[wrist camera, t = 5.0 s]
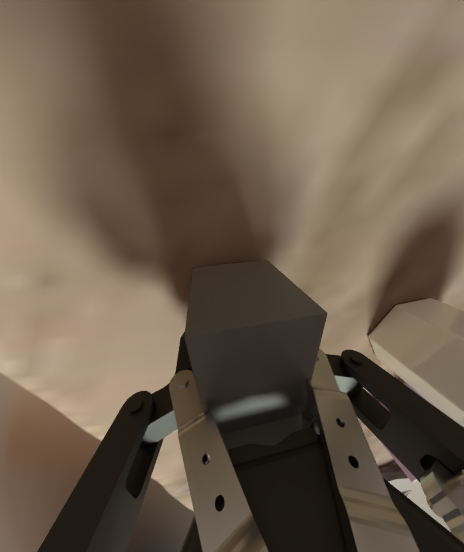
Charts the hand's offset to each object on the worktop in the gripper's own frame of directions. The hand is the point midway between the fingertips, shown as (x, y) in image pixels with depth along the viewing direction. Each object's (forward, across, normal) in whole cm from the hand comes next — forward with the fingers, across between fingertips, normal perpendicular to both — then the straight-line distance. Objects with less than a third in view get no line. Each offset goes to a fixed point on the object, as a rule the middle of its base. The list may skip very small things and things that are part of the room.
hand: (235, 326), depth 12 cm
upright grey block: (+1, 0, 0) cm, 1 cm away
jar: (+2, -20, +6) cm, 21 cm away
